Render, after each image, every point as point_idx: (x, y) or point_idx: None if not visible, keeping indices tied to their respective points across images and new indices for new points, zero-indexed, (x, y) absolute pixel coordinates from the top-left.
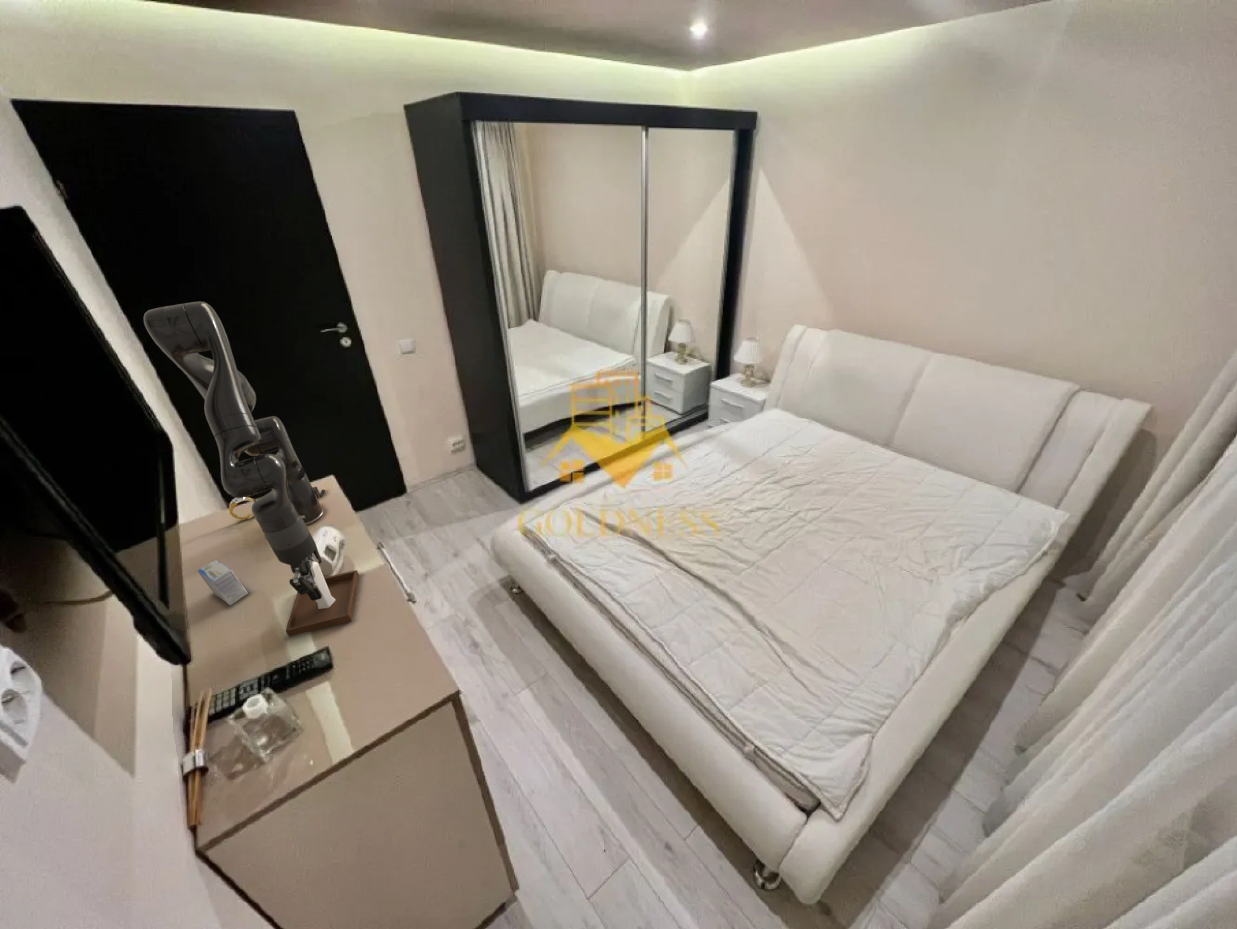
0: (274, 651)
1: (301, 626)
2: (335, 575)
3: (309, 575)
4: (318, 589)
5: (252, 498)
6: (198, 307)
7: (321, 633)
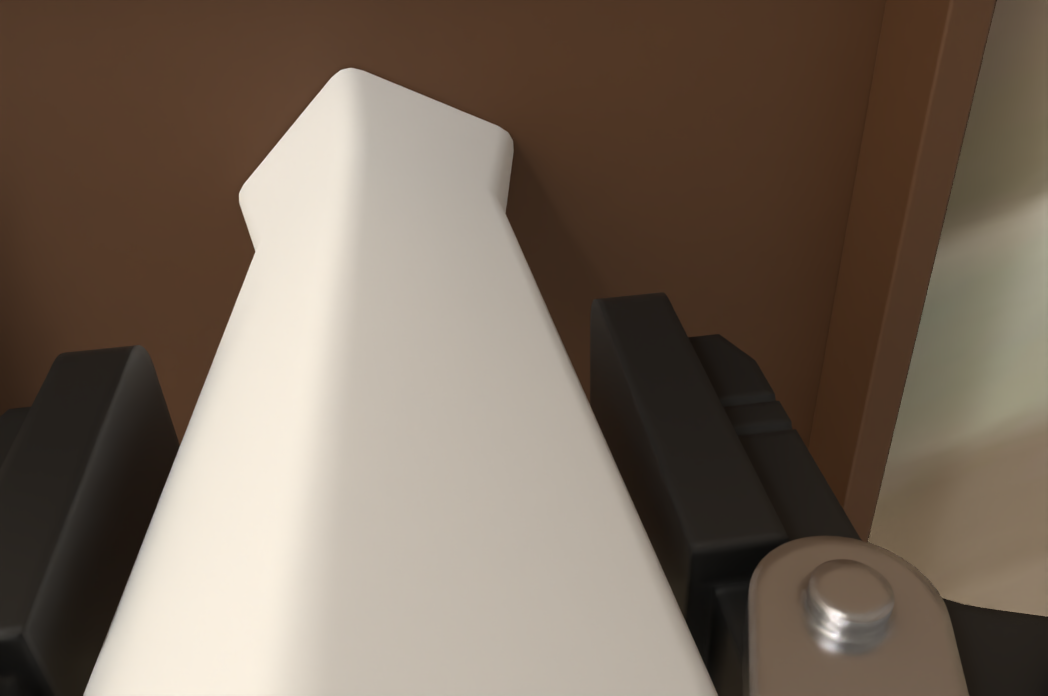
0: (947, 533)
1: (897, 406)
2: None
3: None
4: (654, 431)
5: None
6: None
7: (971, 120)
